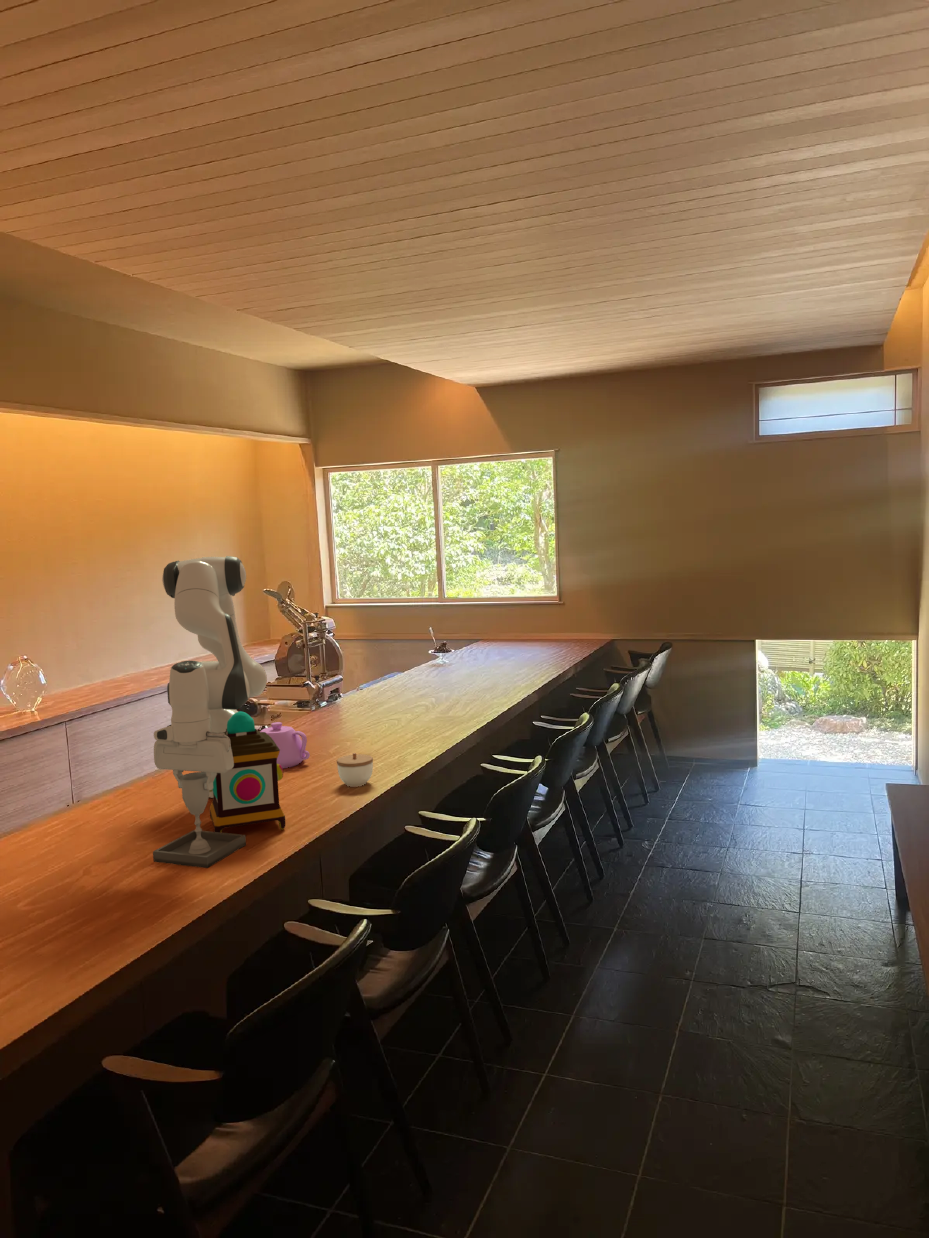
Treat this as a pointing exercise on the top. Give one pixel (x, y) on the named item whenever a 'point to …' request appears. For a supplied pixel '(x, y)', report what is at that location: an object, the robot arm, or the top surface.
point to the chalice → (196, 805)
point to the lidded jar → (355, 769)
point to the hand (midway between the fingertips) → (195, 788)
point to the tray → (219, 850)
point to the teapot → (288, 744)
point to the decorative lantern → (247, 779)
